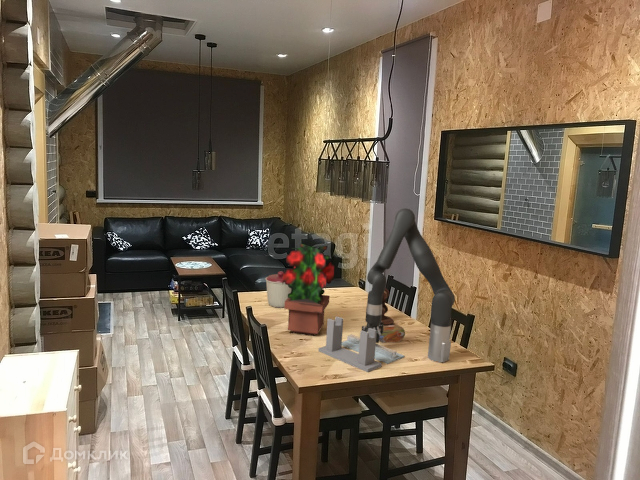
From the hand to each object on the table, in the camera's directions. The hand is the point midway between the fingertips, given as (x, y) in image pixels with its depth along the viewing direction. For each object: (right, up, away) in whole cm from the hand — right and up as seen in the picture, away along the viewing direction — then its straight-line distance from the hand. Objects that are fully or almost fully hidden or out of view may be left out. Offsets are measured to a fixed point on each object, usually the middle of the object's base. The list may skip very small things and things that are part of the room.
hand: (371, 344), depth 250 cm
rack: (-11, -4, -11) cm, 16 cm away
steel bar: (0, -2, 0) cm, 2 cm away
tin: (+11, -2, +15) cm, 18 cm away
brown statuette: (+9, +3, +41) cm, 42 cm away
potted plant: (-32, +2, +23) cm, 40 cm away
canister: (-50, +11, +64) cm, 82 cm away
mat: (0, -3, 0) cm, 3 cm away
